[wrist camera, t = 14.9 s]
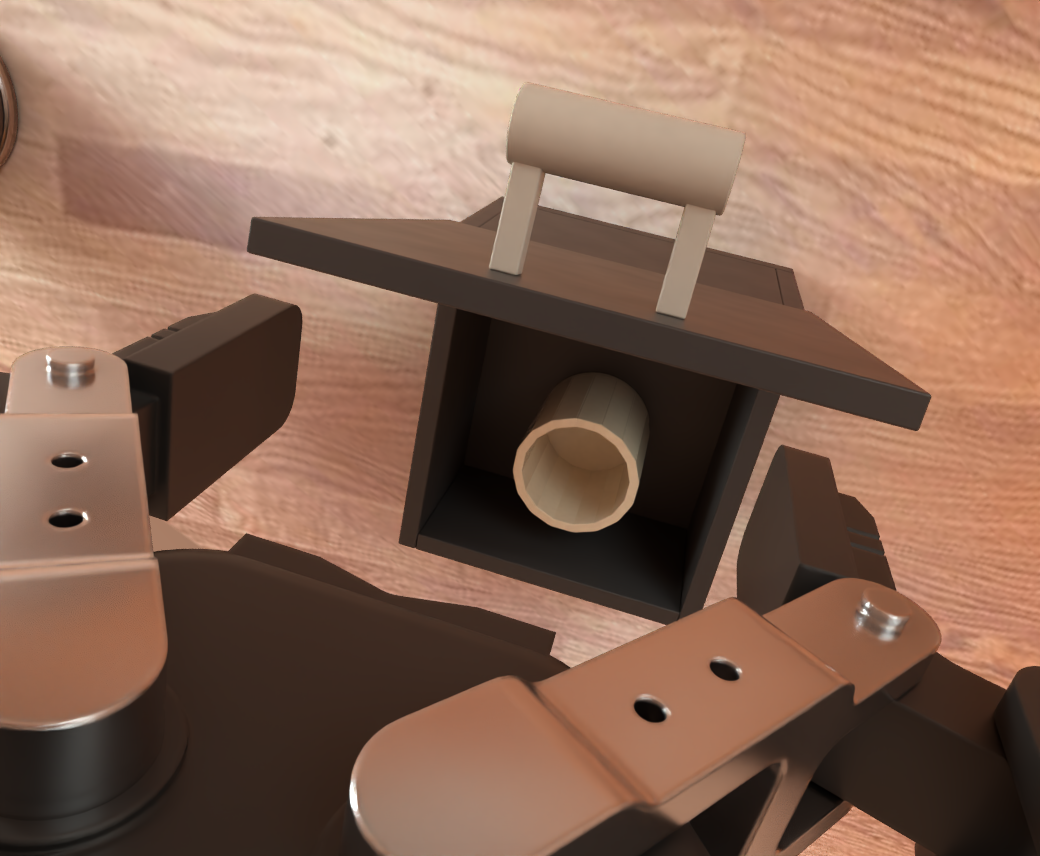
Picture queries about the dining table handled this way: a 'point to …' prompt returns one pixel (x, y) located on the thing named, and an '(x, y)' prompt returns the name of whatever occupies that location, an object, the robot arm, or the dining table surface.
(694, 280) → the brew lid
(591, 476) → the creamer cup
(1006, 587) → the dining table surface
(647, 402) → the tapered storage bin
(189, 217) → the dining table surface
